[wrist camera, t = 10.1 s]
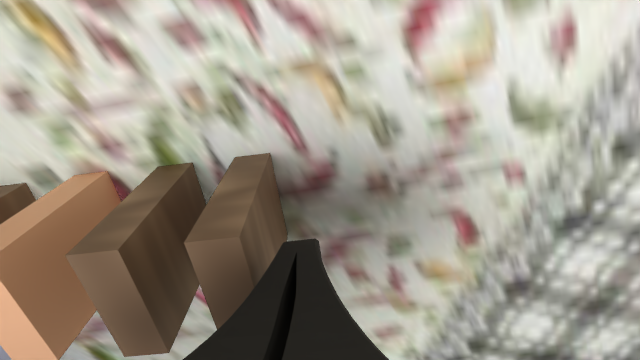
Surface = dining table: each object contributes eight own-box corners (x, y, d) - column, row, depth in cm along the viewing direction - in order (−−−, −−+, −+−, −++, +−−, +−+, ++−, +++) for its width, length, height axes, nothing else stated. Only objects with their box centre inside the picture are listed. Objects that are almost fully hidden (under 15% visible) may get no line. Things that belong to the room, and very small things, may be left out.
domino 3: (270, 152, 17) (239, 236, 11) (287, 234, 19) (270, 344, 13) (234, 157, 17) (183, 242, 11) (256, 238, 19) (224, 348, 13)
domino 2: (192, 162, 17) (117, 250, 11) (218, 242, 19) (168, 352, 13) (158, 166, 17) (64, 255, 11) (188, 245, 20) (124, 356, 13)
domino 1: (107, 171, 17) (-14, 261, 11) (142, 249, 20) (58, 360, 13) (74, 175, 18) (-64, 267, 11) (113, 252, 20) (15, 364, 13)
